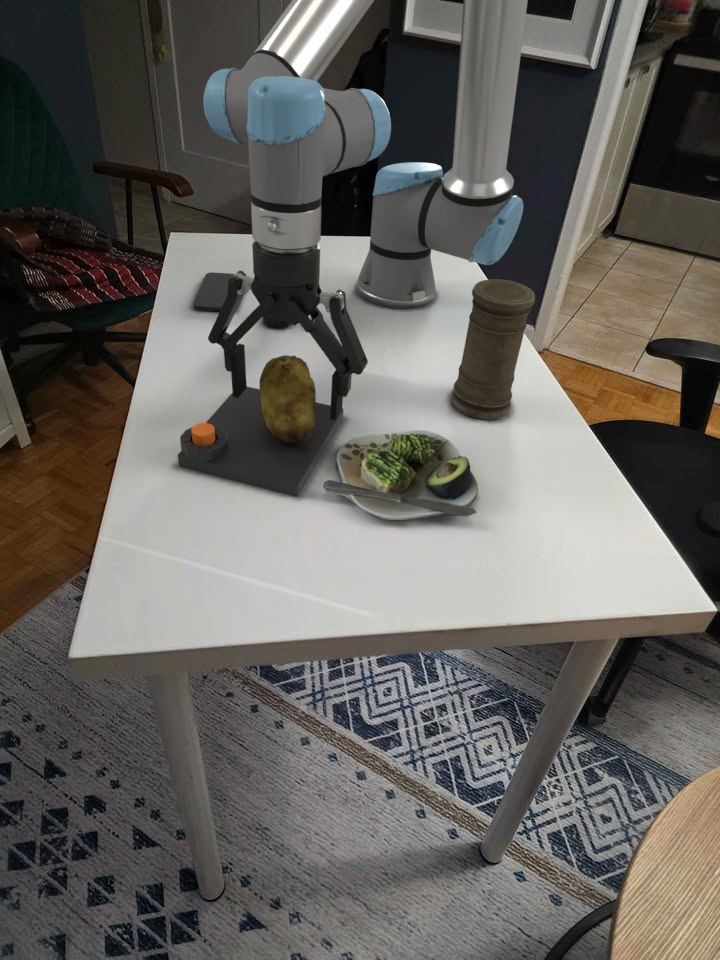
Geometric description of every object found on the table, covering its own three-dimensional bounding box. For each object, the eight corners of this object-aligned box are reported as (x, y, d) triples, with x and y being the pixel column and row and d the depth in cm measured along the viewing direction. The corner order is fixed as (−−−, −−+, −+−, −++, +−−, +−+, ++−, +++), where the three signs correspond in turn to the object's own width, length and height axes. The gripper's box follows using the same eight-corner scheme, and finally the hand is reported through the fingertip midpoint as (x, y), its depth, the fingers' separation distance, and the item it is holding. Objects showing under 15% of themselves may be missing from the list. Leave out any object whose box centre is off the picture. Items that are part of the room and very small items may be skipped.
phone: (191, 305, 114) (206, 271, 126) (191, 310, 115) (206, 275, 126) (233, 308, 115) (244, 274, 126) (233, 312, 115) (244, 278, 127)
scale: (237, 395, 95) (236, 374, 93) (343, 419, 92) (344, 398, 90) (175, 467, 81) (171, 445, 79) (296, 499, 78) (296, 476, 76)
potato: (246, 448, 82) (244, 394, 77) (266, 394, 92) (264, 344, 87) (311, 455, 82) (313, 402, 77) (323, 400, 92) (325, 350, 87)
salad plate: (336, 543, 73) (338, 513, 70) (307, 449, 86) (308, 420, 83) (494, 523, 78) (502, 494, 75) (443, 436, 91) (448, 408, 88)
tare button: (199, 431, 82) (198, 420, 81) (219, 436, 82) (218, 425, 81) (188, 444, 80) (187, 432, 79) (209, 449, 80) (208, 437, 79)
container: (510, 424, 94) (540, 308, 83) (448, 415, 95) (470, 299, 83) (509, 392, 101) (536, 281, 90) (451, 384, 102) (472, 273, 90)
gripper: (167, 234, 71) (187, 397, 85) (386, 274, 67) (370, 440, 80) (200, 214, 77) (213, 370, 90) (403, 250, 72) (385, 408, 86)
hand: (287, 403), depth 85 cm, fingers open, 13 cm apart
